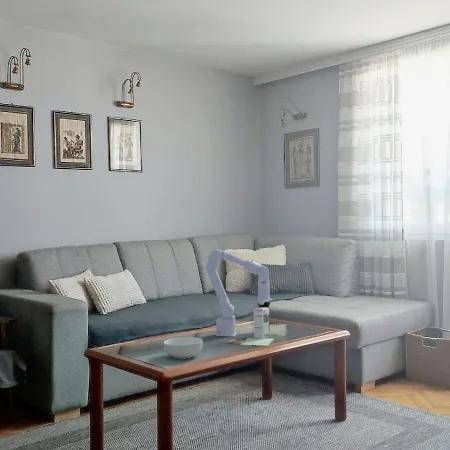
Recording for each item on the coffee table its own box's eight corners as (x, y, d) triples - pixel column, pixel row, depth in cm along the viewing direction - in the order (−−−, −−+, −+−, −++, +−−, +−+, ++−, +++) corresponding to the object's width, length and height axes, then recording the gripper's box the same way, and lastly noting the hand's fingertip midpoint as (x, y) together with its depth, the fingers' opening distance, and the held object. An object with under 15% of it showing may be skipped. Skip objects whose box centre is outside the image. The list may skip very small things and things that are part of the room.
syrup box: (263, 338, 282) (263, 308, 283) (253, 337, 286) (253, 307, 287) (269, 337, 287) (269, 307, 287) (260, 336, 290) (259, 307, 291)
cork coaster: (225, 343, 275) (225, 342, 275) (230, 340, 282) (230, 339, 282) (242, 344, 272) (242, 343, 272) (246, 340, 280) (246, 339, 280)
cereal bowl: (175, 351, 260) (175, 335, 260) (209, 353, 254) (208, 337, 254) (156, 360, 245) (156, 343, 245) (192, 363, 238) (191, 345, 238)
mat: (240, 345, 270) (240, 344, 270) (247, 338, 286) (247, 337, 286) (267, 346, 267) (267, 345, 267) (273, 339, 282) (273, 338, 282)
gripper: (269, 291, 286) (269, 319, 286) (274, 288, 300) (274, 314, 300) (254, 291, 288) (255, 319, 288) (260, 288, 302) (261, 314, 302)
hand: (264, 317), depth 294 cm, fingers closed
